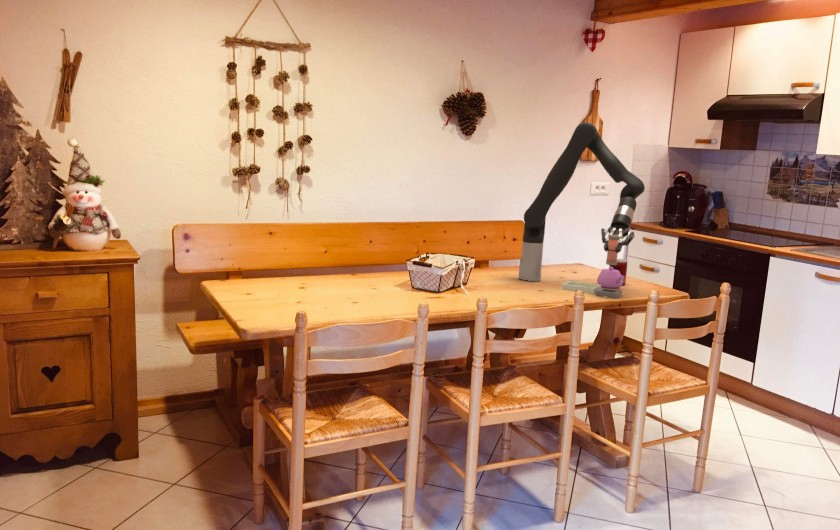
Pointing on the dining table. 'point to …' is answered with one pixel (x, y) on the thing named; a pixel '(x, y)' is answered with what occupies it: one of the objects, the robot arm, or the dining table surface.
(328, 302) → the dining table surface
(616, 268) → the canned food
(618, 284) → the teapot
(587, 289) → the parts tray
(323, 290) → the dining table surface
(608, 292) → the socket block
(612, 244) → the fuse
